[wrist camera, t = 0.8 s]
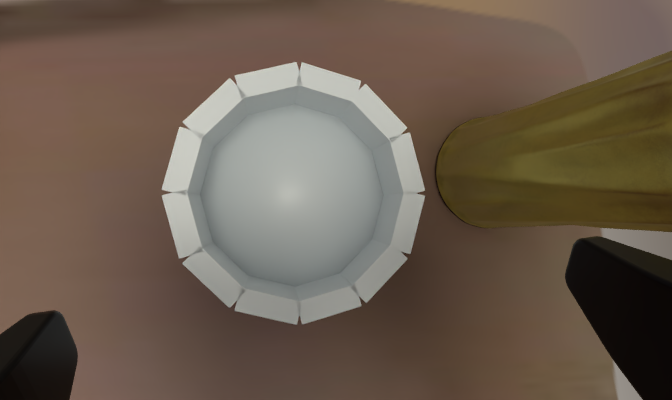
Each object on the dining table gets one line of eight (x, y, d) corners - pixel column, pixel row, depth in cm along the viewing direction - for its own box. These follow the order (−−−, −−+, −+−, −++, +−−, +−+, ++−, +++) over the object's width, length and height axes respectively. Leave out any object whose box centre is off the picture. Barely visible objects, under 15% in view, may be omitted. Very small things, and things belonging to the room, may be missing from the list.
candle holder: (367, 322, 23) (387, 345, 19) (157, 273, 22) (133, 288, 18) (418, 124, 24) (447, 107, 20) (217, 62, 22) (206, 32, 18)
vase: (420, 207, 24) (639, 207, 10) (454, 101, 24) (713, -45, 10) (518, 241, 25) (853, 289, 11) (550, 140, 25) (913, 53, 11)
